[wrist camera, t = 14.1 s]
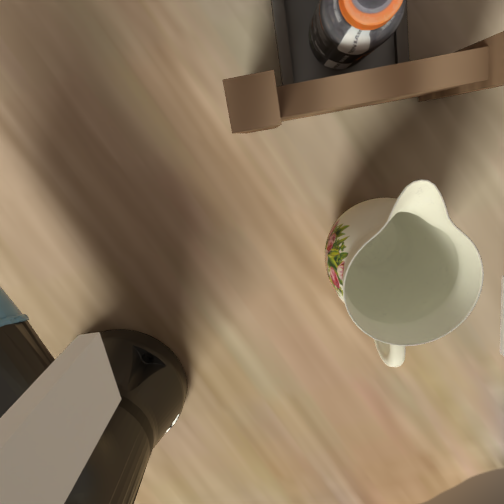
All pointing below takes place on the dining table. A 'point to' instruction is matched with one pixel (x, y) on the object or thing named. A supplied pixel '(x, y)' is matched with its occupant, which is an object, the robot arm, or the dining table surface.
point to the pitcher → (403, 269)
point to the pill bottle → (352, 29)
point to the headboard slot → (352, 74)
